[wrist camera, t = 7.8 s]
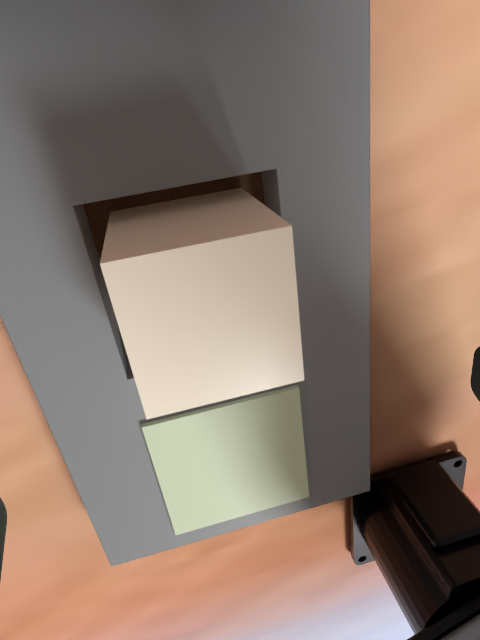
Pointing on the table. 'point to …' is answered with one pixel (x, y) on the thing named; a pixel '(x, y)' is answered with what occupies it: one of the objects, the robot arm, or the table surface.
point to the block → (204, 299)
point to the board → (173, 171)
